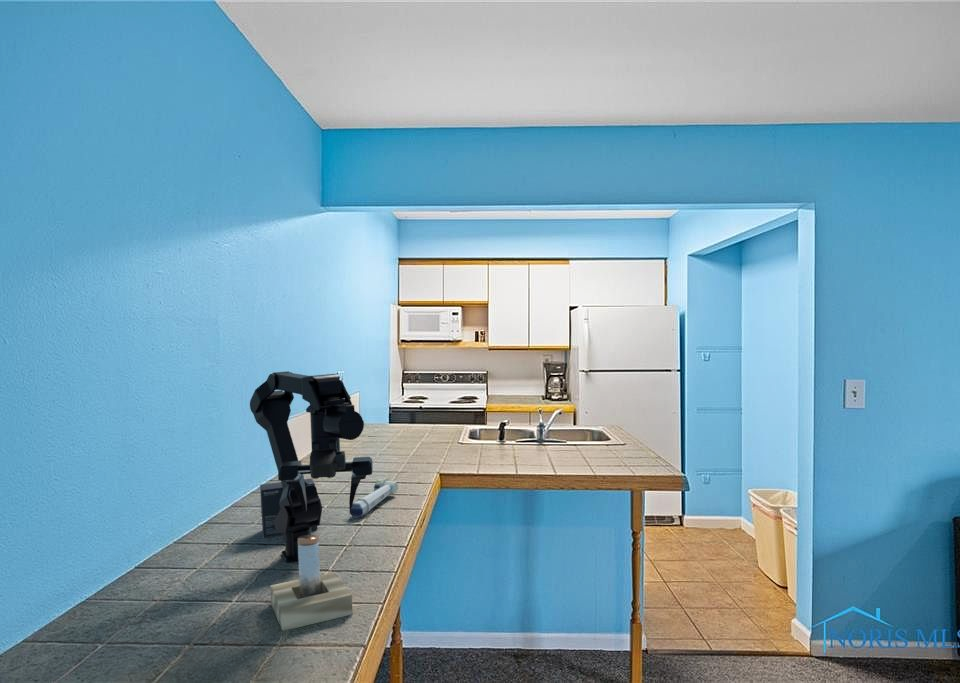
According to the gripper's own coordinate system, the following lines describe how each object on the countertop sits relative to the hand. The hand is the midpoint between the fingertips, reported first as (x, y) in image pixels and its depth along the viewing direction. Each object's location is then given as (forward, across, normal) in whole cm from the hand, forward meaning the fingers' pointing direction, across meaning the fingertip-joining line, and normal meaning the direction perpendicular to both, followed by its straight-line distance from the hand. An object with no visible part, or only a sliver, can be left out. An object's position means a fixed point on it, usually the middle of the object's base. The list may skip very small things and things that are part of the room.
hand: (328, 509), depth 131 cm
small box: (+13, -13, +30) cm, 35 cm away
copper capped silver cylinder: (+13, -2, -18) cm, 22 cm away
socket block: (+13, -2, -18) cm, 22 cm away
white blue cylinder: (+10, +5, +48) cm, 50 cm away
